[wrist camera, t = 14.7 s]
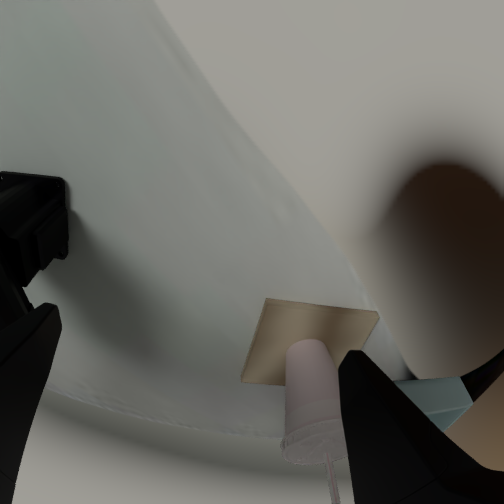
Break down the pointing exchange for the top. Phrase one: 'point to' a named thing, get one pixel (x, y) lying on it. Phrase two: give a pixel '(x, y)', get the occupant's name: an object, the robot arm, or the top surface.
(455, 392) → the bin
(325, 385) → the smoothie
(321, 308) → the oak board
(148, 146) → the top surface
